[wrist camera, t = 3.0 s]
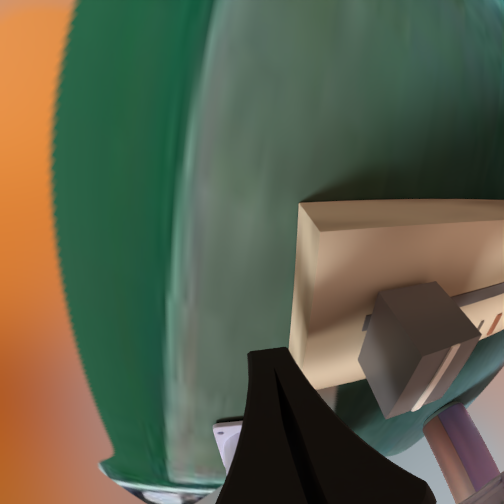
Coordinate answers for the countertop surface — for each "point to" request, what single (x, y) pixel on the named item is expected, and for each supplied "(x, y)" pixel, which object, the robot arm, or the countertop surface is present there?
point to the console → (388, 271)
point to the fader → (415, 346)
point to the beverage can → (459, 450)
